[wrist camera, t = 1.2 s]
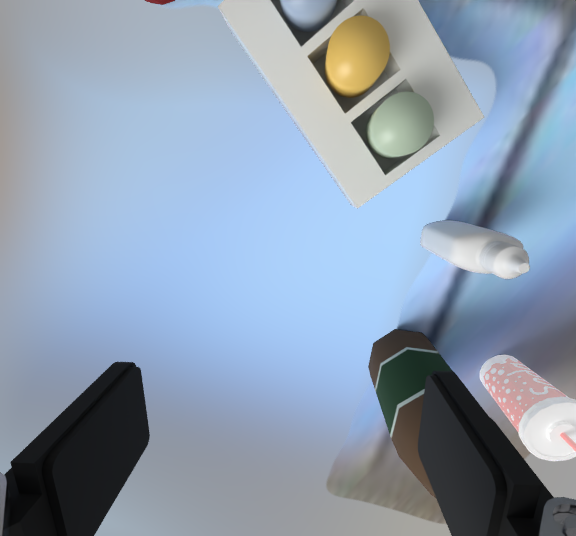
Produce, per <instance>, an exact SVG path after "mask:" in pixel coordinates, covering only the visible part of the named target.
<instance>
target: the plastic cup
mask: <svg viewBox="0 0 576 536" xmlns="http://www.w3.org/2000/svg"><path fill="white" fill-rule="evenodd" d="M145 1H147V2H150V3H155V4H161V5H164V4H167V3H170V2H173V1H175V0H145Z"/></svg>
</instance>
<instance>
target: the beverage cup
mask: <svg viewBox="0 0 576 536" xmlns="http://www.w3.org/2000/svg"><path fill="white" fill-rule="evenodd" d="M480 380H481V381H482V383H483V385H484V386H485V388H486V389H487V390H488V392H489V393H490V394H491V396H492V397H493V398H494V400H495V401H496V402H497V404H498V405H499V407H500V408H501V409H502V411H503V412H504V413H505V415H506V416H507V417H508V419H509V420H510V422H511V423H512V424H513V426H514V427H515V428H516V430H517V431H518V432H519V436H520V438H521V440H522V442H523V444H524V445H525V446H526V448H527V449H528V451H529V452H531V453H532V454H534V455H535V456H537V457H538V458H540V459H544V460H549V461H562V460H568V459H571V458H573V457H576V399H571V398H569V397H567V396H566V395H565V394H563V393H562V392H561V391H559V390H558V389H556V388H555V387H554V386H552V385H551V384H550V383H548V382H547V381H546V380H544V379H543V378H542V377H540V376H539V375H537V374H536V373H535V372H533V371H532V370H531V369H529V368H528V367H527V366H525V365H524V364H523V363H521V362H520V361H518V360H517V359H516V358H514V357H513V356H509V355H497V356H494V357H492V358H490V359H488V360H487V361H486V362H485V363H484V364H483V366H482V368H481V370H480Z"/></svg>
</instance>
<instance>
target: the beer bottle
mask: <svg viewBox="0 0 576 536" xmlns="http://www.w3.org/2000/svg"><path fill="white" fill-rule="evenodd" d="M369 370H370V375H371V378H372V382H373V385H374V388H375V391H376V394H377V397H378V400H379V403H380V406H381V409H382V412H383V415H384V418H385V421H386V424H387V427H388V430H389V433H390V436H391V439H392V441H393V444H394V446H395V448H396V450H397V453H398V455H399V457H400V458H401V459H402V461H403V462H404V463H405V464H406V465H407V467H408V468H409V469H410V470H411V471H412V473H413V474H414V475H415V476H416V477H417V478H418V480H419V481H420V482H421V483H422V484H423V486H424V487H425V488H426V489H427V490H428V492H429V493H430V494H431V495H432V496H434V497H435V498H436V496H435V494H434V491H433V489H432V486H431V484H430V482H429V479H428V477H427V474H426V472H425V469H424V467H423V465H422V462H421V460H420V457H419V453H418V437H419V430H420V422H421V414H422V406H423V398H424V390H425V383H426V377H427V376H428V375H432V372H433V371H452V370H451V368H450V367H449V366H448V365H447V363H446V362H445V361H444V359H443V358H442V357H441V355H440V354H439V353H438V351H437V350H436V349H435V348H434V346H433V345H432V344H431V342H430V341H429V340H428V339H427V338H426V336H425V335H424V334H423V333H420V332H413V331H405V330H397V329H394V330H393V331H391V332H390V333H388V334H387V335H385V336H384V337H382V338H381V339H379V340H377V341H376V342H375V343H373V347H372V352H371V357H370V362H369Z"/></svg>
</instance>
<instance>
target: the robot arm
mask: <svg viewBox="0 0 576 536" xmlns="http://www.w3.org/2000/svg"><path fill="white" fill-rule="evenodd" d="M149 436H150V435H149V427H148V419H147V412H146V405H145V397H144V390H143V383H142V376H141V370H140V368H139V367H136V365H135V363H133V362H115V363H113V364H112V365H111V366H110V367H109V368H108V369H107V370H106V371H105V372H104V373H103V374H102V375H101V376H100V377H99V378H98V379H97V380H96V381H94V383H92V384H91V385H90V386H89V387H88V388H87V389H86V390H85V391H84V392H83V393H82V394H81V395H80V396H79V397H78V398H77V399H76V400H75V401H74V402H73V403H72V404H71V405H70V406H68V408H66V409H65V411H63V412H62V413H61V414H60V415H59V416H58V417H57V418H56V419H55V420H54V421H53V422H52V423H51V424H50V425H49V426H48V427H47V428H46V429H45V430H44V431H42V432H41V433H40V434H39V435H38V436H37V437H36V438H35V439H34V440H33V441H32V442H31V443H30V444H29V445H28V446H27V447H26V448H25V449H24V450H23V451H22V452H21V453H20V454H19V455H18V456H16V457H15V458H14V459H13V460H12V461H11V466H12V468H11V469H10V470H9V471H8V472H7V473H6V474H5V475H3V474H2V473H0V536H94V535H95V533H96V531H97V530H98V528H99V526H100V525H101V523H102V521H103V519H104V517H105V516H106V514H107V513H108V511H109V509H110V508H111V506H112V504H113V503H114V501H115V499H116V497H117V496H118V494H119V492H120V490H121V489H122V487H123V486H124V484H125V482H126V481H127V479H128V477H129V475H130V474H131V472H132V470H133V469H134V467H135V465H136V464H137V462H138V460H139V459H140V457H141V455H142V454H143V452H144V450H145V448H146V447H147V445H148V442H149ZM418 453H419V457H420V460H421V462H422V465H423V467H424V469H425V472H426V474H427V477H428V479H429V482H430V484H431V486H432V489H433V491H434V494H435V496H436V499H437V501H438V503H439V506H440V508H441V511H442V513H443V516H444V518H445V520H446V523H447V525H448V528H449V530H450V533H451V535H452V536H576V500H574V499H569V498H565V497H557V498H554V497H553V496H552V495H551V493H550V492H549V491H548V490H547V488H546V487H545V486H544V485H543V483H542V482H541V481H540V480H539V478H538V477H537V476H536V474H535V473H534V472H533V471H532V469H531V468H530V467H529V465H528V464H527V463H526V461H525V460H524V459H523V458H522V456H521V455H520V454H519V452H518V451H517V450H516V449H515V447H514V446H513V445H512V444H511V442H510V441H509V440H508V438H507V437H506V436H505V435H504V433H503V432H502V431H501V429H500V428H499V427H498V426H497V424H496V423H495V422H494V421H493V420H492V419H491V418H490V417H489V416H488V415H487V414H486V412H485V411H484V410H483V409H482V407H481V406H480V405H479V403H478V402H477V401H476V400H475V398H474V397H473V396H472V394H471V393H470V392H469V391H468V389H467V388H466V387H465V385H464V384H463V383H462V381H461V380H460V379H459V378H458V376H457V375H456V374H455V373H454V372H453V371H433V372H432V375H428V376H427V377H426V383H425V390H424V398H423V406H422V414H421V422H420V430H419V437H418Z"/></svg>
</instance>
